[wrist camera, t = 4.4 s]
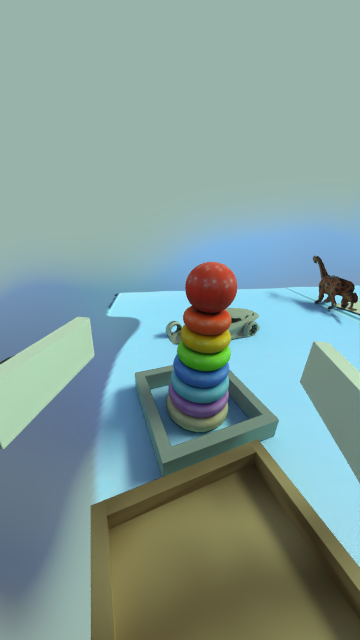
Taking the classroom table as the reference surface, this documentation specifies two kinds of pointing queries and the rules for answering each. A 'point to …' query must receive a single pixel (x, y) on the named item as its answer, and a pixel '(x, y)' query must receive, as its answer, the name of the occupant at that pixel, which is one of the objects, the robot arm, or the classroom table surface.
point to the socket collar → (210, 444)
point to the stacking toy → (203, 351)
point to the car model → (239, 327)
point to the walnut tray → (220, 558)
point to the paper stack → (358, 306)
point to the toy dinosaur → (335, 288)
